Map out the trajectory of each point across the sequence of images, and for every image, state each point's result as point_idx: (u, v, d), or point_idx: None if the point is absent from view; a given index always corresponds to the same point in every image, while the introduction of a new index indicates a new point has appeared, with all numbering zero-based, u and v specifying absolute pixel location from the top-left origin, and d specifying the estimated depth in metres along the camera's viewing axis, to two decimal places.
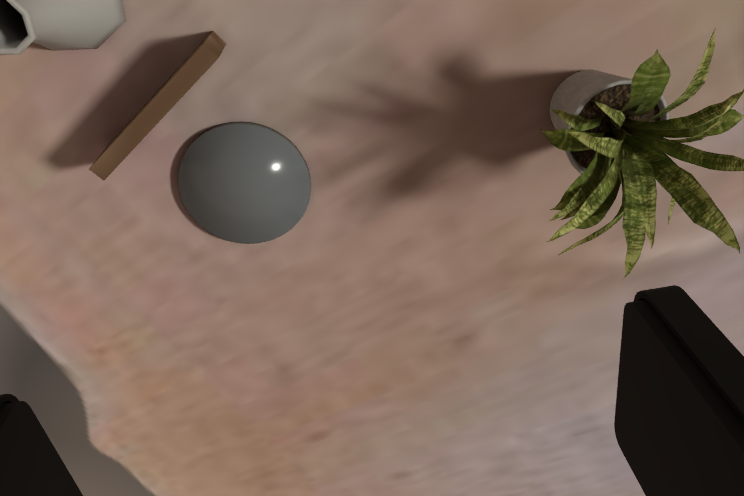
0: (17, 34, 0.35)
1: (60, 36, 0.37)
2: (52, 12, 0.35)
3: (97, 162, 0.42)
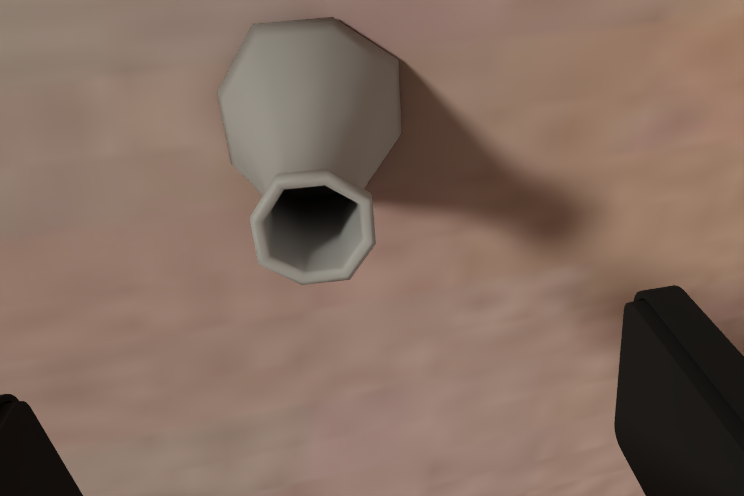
0: None
1: (314, 101, 0.19)
2: (271, 154, 0.18)
3: None
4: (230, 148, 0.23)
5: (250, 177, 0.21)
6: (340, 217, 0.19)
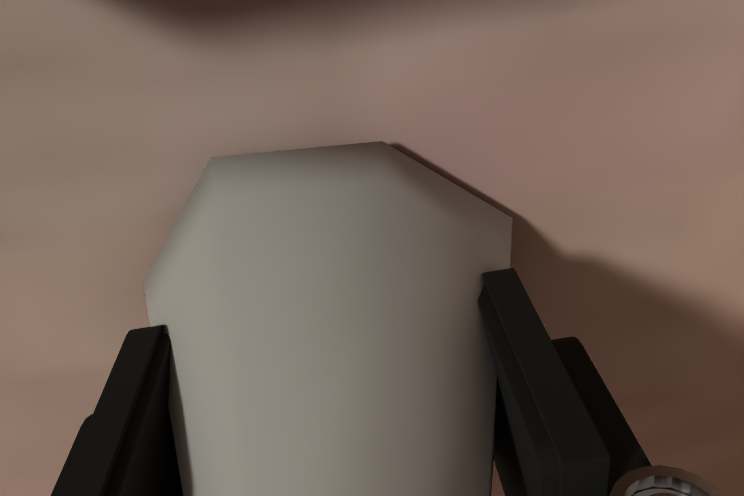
0: None
1: (352, 426, 0.07)
2: None
3: None
4: None
5: None
6: None
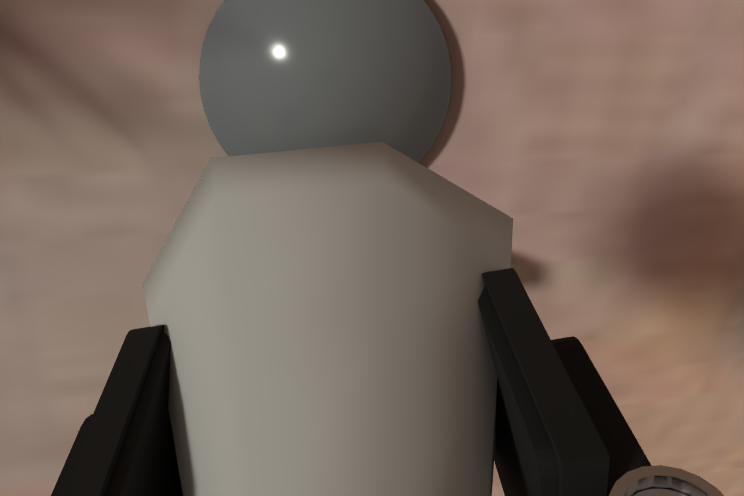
0: None
1: (353, 428, 0.07)
2: None
3: None
4: None
5: None
6: None
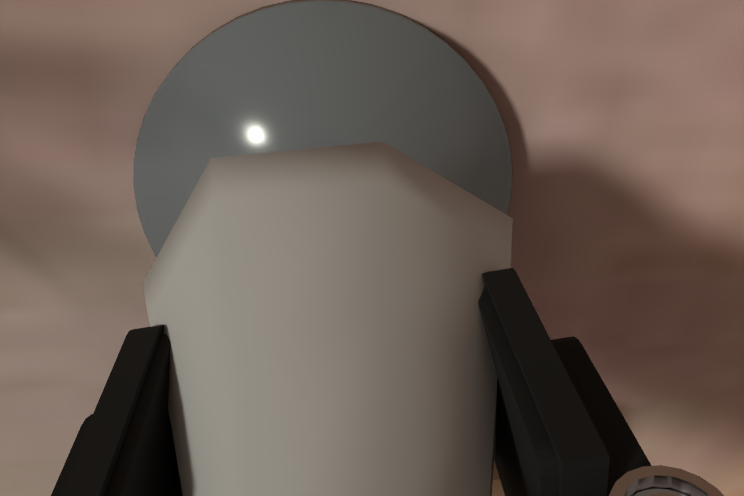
0: None
1: (353, 428, 0.07)
2: None
3: None
4: None
5: None
6: None
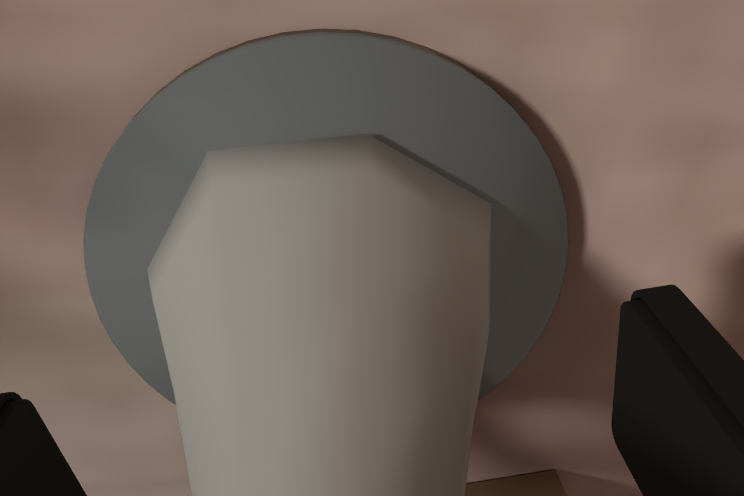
0: None
1: (336, 388, 0.08)
2: None
3: None
4: None
5: None
6: None
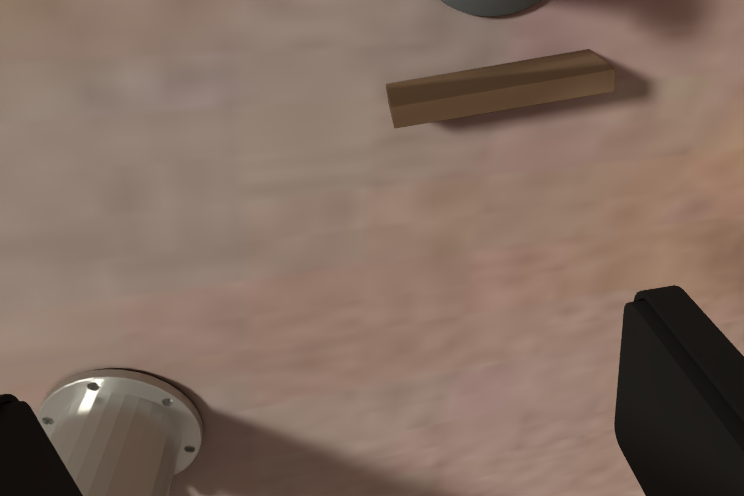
0: None
1: None
2: None
3: (599, 91, 0.33)
4: None
5: None
6: None
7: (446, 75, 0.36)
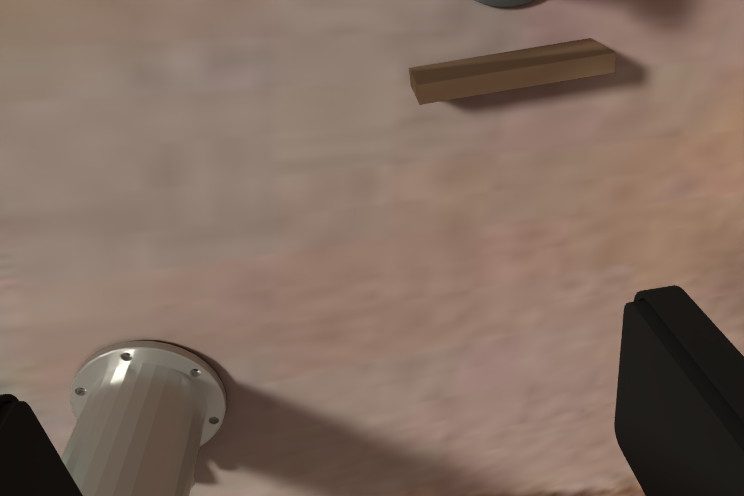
0: None
1: None
2: None
3: (601, 72, 0.37)
4: None
5: None
6: None
7: (463, 60, 0.40)
